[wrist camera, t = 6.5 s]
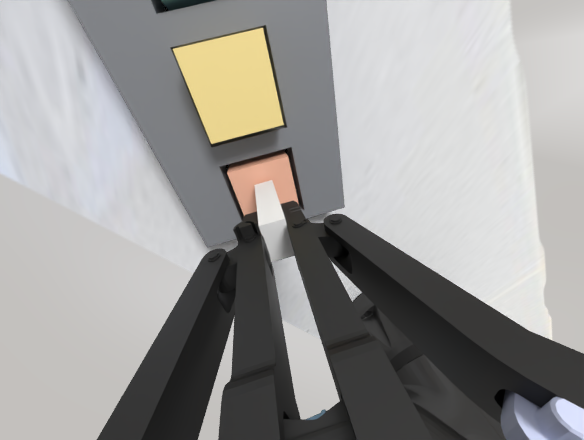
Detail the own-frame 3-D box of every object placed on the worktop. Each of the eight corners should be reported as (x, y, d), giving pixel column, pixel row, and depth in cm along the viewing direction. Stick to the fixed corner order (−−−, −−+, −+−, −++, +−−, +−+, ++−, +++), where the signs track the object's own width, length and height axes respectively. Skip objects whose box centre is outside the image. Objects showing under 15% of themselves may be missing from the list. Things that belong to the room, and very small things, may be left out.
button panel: (333, 195, 23) (344, 207, 21) (211, 230, 22) (207, 247, 20) (289, -184, 11) (302, -269, 9) (20, -136, 10) (-53, -213, 8)
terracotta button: (293, 196, 22) (299, 209, 19) (247, 209, 21) (247, 224, 19) (282, 148, 19) (288, 156, 16) (229, 163, 19) (227, 173, 16)
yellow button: (277, 120, 16) (283, 124, 14) (216, 137, 16) (211, 143, 14) (259, 41, 14) (262, 27, 11) (186, 58, 14) (172, 48, 11)
